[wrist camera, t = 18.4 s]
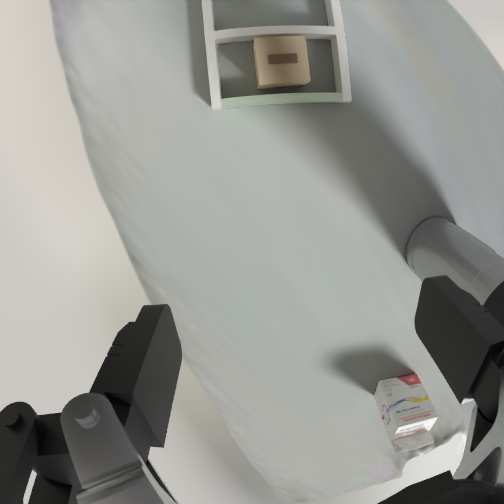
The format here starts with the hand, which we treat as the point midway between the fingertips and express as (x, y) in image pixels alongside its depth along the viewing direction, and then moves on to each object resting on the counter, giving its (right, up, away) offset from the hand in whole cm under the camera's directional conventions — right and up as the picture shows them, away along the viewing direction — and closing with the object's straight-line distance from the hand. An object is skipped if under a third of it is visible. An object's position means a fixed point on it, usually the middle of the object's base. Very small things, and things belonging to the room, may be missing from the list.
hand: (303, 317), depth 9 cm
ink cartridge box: (+26, -24, +42) cm, 55 cm away
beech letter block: (+1, +23, +21) cm, 31 cm away
